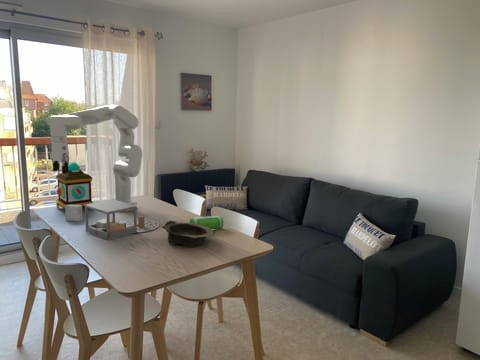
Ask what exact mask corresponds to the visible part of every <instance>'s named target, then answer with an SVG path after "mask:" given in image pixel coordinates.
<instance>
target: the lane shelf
mask: <svg viewBox="0 0 480 360" xmlns="http://www.w3.org/2000/svg"><path fill="white" fill-rule="evenodd" d="M131 209H133V226H134V227H131V226H130V227H131V228H127V222H120V223H121V224H124V225H125V228H127V229H123V230H120V231H116V232H112V233H110V220H112V221H113V223H116V213H120V212H121V213H122V211H126V210H131ZM89 210H92V211H95V212H99V213H101V214H105V215H106V219H107V227H103V228H99V229H97V224H96V222H95V223H91V224H89ZM131 211H132V210H131ZM110 215H111V217H112V219H110ZM137 215H138V213H137V205H131V204H128V203H124V202H121V201H117V200H115V199H109V200H103V201H99V202H93V203H92V204H87V205H85V207H84V216H85V217H84V218H85V219H84V220H85V221H84V222H85V232H87V233H90V234H92V235H94V236H97V237H100V238H102V239H105V240H107V241H110V240H114V239H117V238H120V237H121V238H122V237H125V236H128V235H131V234H135V233H137V232H138V227H137V225H138V220H137V219H138V216H137Z"/></svg>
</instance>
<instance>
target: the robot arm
mask: <svg viewBox="0 0 480 360" xmlns="http://www.w3.org/2000/svg"><path fill="white" fill-rule="evenodd" d="M111 120H113V124H114V126H115V127H116V128H117V129H118V132H119V137H120V138H119V143H118V148H117V149H118V150H117V154H118V155H117V156H119V157H120V158H121V159H125V160H117V161H116V162H115V163H114V164H113V167H112V168H113V169H112V170H113V175H114V187H115V188H114V189H115V191H114V192H115V193H114V194H115V199H114V200H117V201H121V202H124V203H128V204H131V205H135V206H137V205H138V201H132V181H131V178H136V177H137V176H138V175H139V173H140V171H141V166H142V165H141V164H142V160H143V149H142V148H141V146H139V145H138V144H135V134H134V131H133V130H135V129H136V128H138V126H139V119H138V117H137V116H136V115H135V114H133V113H132V112H131V111H129V110H128V109H127V108H125V107H123V106H122V105H118V104H107V105H106V104H105V105H103V106H98V107H94V108H91V109H85V110H80V111H74V112H70V113H65V114H62V115H50V118H49V123H50V125H49V127H50V128H49V129H50V141H51V142H50V143H51V155H50V157H51V161H52V162H51V163H52V171H53V172H58V171H59V172H60V163H61V173H63V174H64V173H69V170H68V165H69V164H70V151H69V146H68V133H67V132H68V131H67V130H71V131H77V130H80V129H82V127H83V126H84V125H87V126H88V125H89V126H90V125H96V124H100V123H103V122H107V121H111ZM131 211H134V209H131V210H126V211H122V212H123V213H126V212H131ZM122 212H121V213H122Z"/></svg>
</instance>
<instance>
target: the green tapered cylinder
mask: <svg viewBox="0 0 480 360" xmlns="http://www.w3.org/2000/svg"><path fill="white" fill-rule="evenodd" d="M189 223H195V224H199V225H203V226H206V227H208V228H211V229H216V230H220V229H222V228H223V227H224V219H223V216H220V215H210V216H197V217H192V218H190V219H189ZM219 228H220V229H219Z"/></svg>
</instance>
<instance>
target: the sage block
mask: <svg viewBox="0 0 480 360" xmlns="http://www.w3.org/2000/svg"><path fill="white" fill-rule="evenodd" d="M95 223H96V224H97V229H99V228H103V227H107V218H104V219H99V220H96V222H95ZM110 224H113V221H112V219H110Z"/></svg>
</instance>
